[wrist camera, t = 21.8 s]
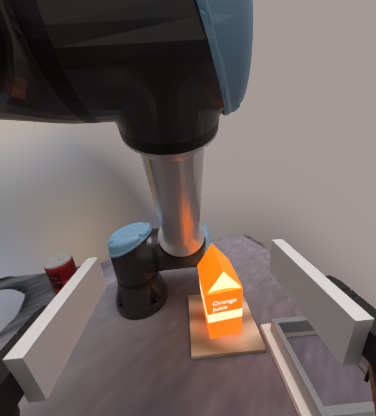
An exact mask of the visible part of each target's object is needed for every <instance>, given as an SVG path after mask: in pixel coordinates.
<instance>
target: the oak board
mask: <svg viewBox="0 0 376 416" xmlns="http://www.w3.org/2000/svg"><path fill="white" fill-rule="evenodd" d="M188 299H189V319H190V338H191V357H192V359H202V358H212V357H223V356H233V355H243V354H253V353H264V352H266V347H265V345H264V343H263V340H262V338H261V336H260V333H259V331H258V328H257V326H256V324H255V321H254V319H253V317H252V314H251V312H250V309H249V307H248V305H247V302H246V300H245V297H244V295H243V293H242V332H240V333H235V334H231V335H226V336H221V337H217V338H212V339H210V335H209V331H208V326H207V322H206V317H205V313H204V308H203V303H202V296H201V294H200V295H189V296H188Z"/></svg>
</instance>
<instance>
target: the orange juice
mask: <svg viewBox="0 0 376 416" xmlns="http://www.w3.org/2000/svg"><path fill="white" fill-rule="evenodd" d="M197 267H198V273H199V280H200V289H201V296H202V303H203V308H204V313H205V317H206V322H207V326H208V331H209V335H210V339H212V338H217V337H221V336H226V335H231V334H235V333H240V332H242V288H243V287H242V285H241V283H240V281H239V279H238V277H237V275H236V273H235V271H234V269H233V267H232V265H231V263H230V261H229V259H228V258H227V257H226V256H224V255H223V254H222V253H221V252H220V251H219V250H218V249H217V248H216V247H215V246H214V245H213V244H211V246H210V247H209V249H208V250H207V252H206V253H205V255H204V256H203V258H202V259H201V261H200V262H199V264H197Z"/></svg>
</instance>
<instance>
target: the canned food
mask: <svg viewBox="0 0 376 416" xmlns="http://www.w3.org/2000/svg"><path fill="white" fill-rule="evenodd" d="M44 268H45V271H46V273H47V276H48V278H49V280H50V282H51V285H52V287H53V289H54V291H55V292H56V293H57V294H58V293H59V292H60V291H61V289H62V288H63V287H64V286H65V285H66V283H67V282H68V281H69V280H70V279H71V277H72V276H73V275H74V274H75V273H76V272H77V269H76V266H75V263H74V261H73V258H72V256H71V254H70V253H63V254H59V255H56V256H54V257H52V258H50V259H49V260H47V261H46V262H45V263H44Z"/></svg>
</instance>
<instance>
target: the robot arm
mask: <svg viewBox="0 0 376 416" xmlns="http://www.w3.org/2000/svg"><path fill="white" fill-rule="evenodd" d="M252 39H253V1H252V0H0V119H2V120H18V121H33V122H47V123H71V124H77V123H100V122H116V124H117V126H118V129H119V132H120V134H121V137H122V140H123V142H124V143H125V144H126V145H127V147H129V148H130V149H131V150H133V151H135V152H137V153H140V155H141V159H142V161H143V165H144V168H145V172H146V176H147V179H148V183H149V186H150V190H151V193H152V197H153V200H154V204H155V207H156V211H157V214H158V217H159V221H160V224H161V226H160V228H157V229H152V227H151V226H150V224H148V223H144V222H140V223H134V224H130V225H127V226H125V227H123V228H121V229H119V230H117V231H116V232H115V233H113V234H112V235H111V237H110V238H109V241H108V247H109V256H110V257H111V261H112V264H113V268H114V271H115V275H116V278H117V282H118V288H117V295H116V304H117V308H118V311H119V313H120V314H121V315H122V316H123V317H125V318H128V319H135V320H136V319H143V318H146V317H148V316H150V315H152V314H154V313H155V312H157V311H158V310H159V309H160V308H161V307H162V306H163V304H164V303H165V301H166V299H167V294H168V292H167V285H166V282H165V281H164V279H163V277H162V276H161V274H160V273H159V271H163V270H172V269H180V268H189V267H197V264H199V262H200V261H201V259H202V258H203V256H204V255H205V253H206V252H207V250H208V249H209V247H210V246H211V242H210V235H209V231H208V228H207V227H206V225H204V224H201V222H200V204H201V187H202V169H203V153H204V147H206V146H207V145H209V144H210V143H211V142H212V141H213V140H214V138H215V137H216V134H217V131H218V123H219V116H220V114H221V113H222V114H223V115H228V114H229V113H231V112H234V111H236V110H237V109H238V108H239V106H240V103H241V101H242V100H243V98H244V95H245V92H246V88H247V83H248V78H249V73H250V65H251V55H252ZM270 271H271V273H272V274H273V275H274V277H275V278H276V279H277V281H278V282H279V283H280V285H281V286H282V287H283V289H284V290H285V291H286V292H287V294H288V295H289V296H290V298H291V299H292V300H293V302H294V303H295V304H296V306H297V307H298V308H299V310H300V311H301V312H302V314H303V315H304V316H305V318H306V319H307V320H308V322H309V323H310V324H311V326H312V327H313V328H314V330H315V331H316V332H317V334H318V335H319V336H320V338H321V339H322V340H323V342H324V343H325V344H326V345H327V347H328V348H329V349H330V351H331V352H332V353H333V355H334V356H335V357H336V359H337V360H338V361H339V363H340V364H341V365H342V366H348V365H356V364H359V362H360V359H361V356H362V355H363V357H364V358H365V359H366V360H367V361H368V362H369V363H370V364H369V366H368V369H367V371H366V374H365V378H364V381H366V382H368V380H369V378H370V383H371V389H372V396H373V402H374V408H375V415H376V309H375V308H373V307H372V306H371V305H370V304H369V303H367V302H366V301H365V300H364V299H362V298H361V297H360V296H358V295H357V294H356V293H355V292H354V291H353V290H350V288H349V287H347V286H346V285H345V284H344V283H343V282H341V281H340V280H338V279H336V278H334V277H332V276H324V275H323V274H322V273H321V272H320V271H318V270H317V269H316V268H315V267H314V266H312V265H311V264H310V263H309V262H308V261H307V260H306V259H305V258H303V257H302V256H301V255H300V254H299V253H298V252H296V251H295V250H294V249H293V248H292V247H291V246H289V245H288V244H287V243H286V242H285V241H283V239H277V240H272V247H271V259H270ZM106 287H107V286H106V283H105V279H104V276H103V272H102V269H101V265H100V262H99V259H98V257H94V258H87V260H86V261H85V262H84V263H83V264H82V266H81V267H80V268H79V269H78V270H77V272H76V273H75V274H74V275H73V276H72V277H71V279H70V280H69V281H68V282H67V283H66V285H65V286H64V287H63V288H62V289H61V291H60V292H59V293H58V294H57V295H56V297H55V298H54V299H53V300H52V301H51V303H50V304H49V305H47V306H43V307H41V308H40V309H39V310H38V311H36V312H35V313H34V314H33V315H32V316H31V317H30V318H29V319H28V320H27V321H26V323H25V324H24V326H22V327H21V328H20V329H19V330H18V332H17V334H15V335H14V336H13V337H12V338H11V339H10V341H9V342H8V343H7V344H6V345H5V346H4V347H3V349H2V350H1V351H0V416H20V410H19V407H18V405H17V404H18V403H19V401H20V400H21V398H22V396H23V395H25V397H26V398H27V400H28V402H37V401H46V400H47V399H48V398H49V396H50V394H51V392H52V390H53V388H54V386H55V384H56V382H57V380H58V379H59V377H60V375H61V373H62V371H63V369H64V367H65V365H66V363H67V361H68V359H69V358H70V356H71V354H72V352H73V350H74V348H75V346H76V344H77V342H78V340H79V338H80V337H81V335H82V333H83V331H84V329H85V327H86V325H87V323H88V321H89V319H90V318H91V316H92V314H93V312H94V310H95V308H96V306H97V304H98V302H99V300H100V298H101V297H102V295H103V293H104V291H105V289H106Z"/></svg>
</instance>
